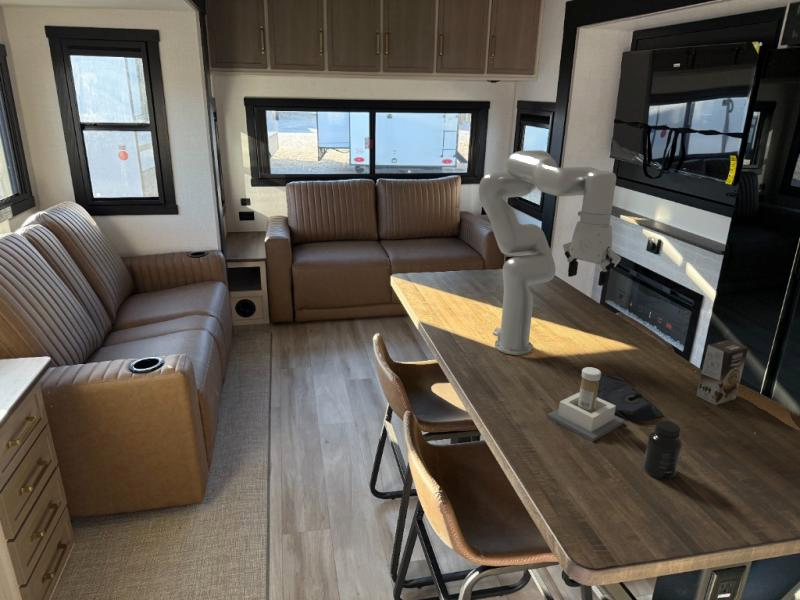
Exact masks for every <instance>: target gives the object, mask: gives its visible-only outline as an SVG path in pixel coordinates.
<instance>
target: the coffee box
mask: <svg viewBox="0 0 800 600" xmlns="http://www.w3.org/2000/svg"><path fill="white" fill-rule="evenodd" d="M748 350H749V347H748V346H747V345H743V344H741V343H737V342H734V341H731V340H729V339H726V340H722V341H718V342H714V343H710V344H707V348H706V352H705V356H704V357H705V358H704V360H703V365H702V370H701V375H700V378H699V382H698V386H697V390H696V397H698V398H701V399H702V400H704V401H706V402H708V403H710V404H712V405H714V406H718V405H720V404H724V403H727V402H731V401H733V400H736V398H737V394H738V391H739V387H740V382H741V379H742V374H743V370H744V366H745V362H746V359H747V355H748Z"/></svg>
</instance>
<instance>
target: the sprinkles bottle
mask: <svg viewBox="0 0 800 600" xmlns="http://www.w3.org/2000/svg"><path fill="white" fill-rule="evenodd" d="M600 377H602V372H601V370H600V369H598V368H595V367H590V366H587V367H584V368H582V369H581V382H580V384H581V385H580V387H579V388H580V389H579V392H580V394H579V401H578V407H579V408H581V409H583V410H585V411H587V412H589V413H591V414H592V413H594V412H595V407H596V401H597V392H598V385H599V380H600Z"/></svg>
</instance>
